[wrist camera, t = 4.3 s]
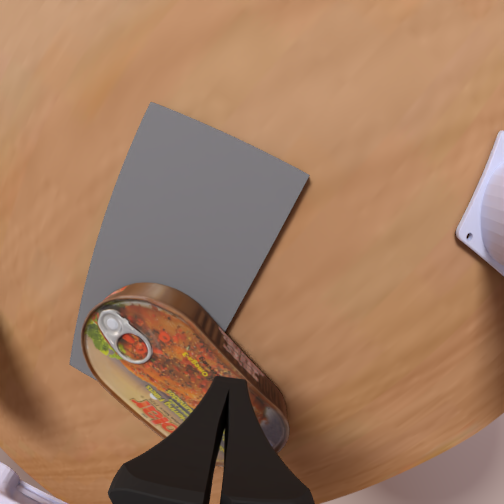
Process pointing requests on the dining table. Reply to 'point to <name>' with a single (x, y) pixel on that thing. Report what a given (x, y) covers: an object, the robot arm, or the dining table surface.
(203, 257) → the mat
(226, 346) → the tin
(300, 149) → the dining table surface
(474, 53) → the dining table surface
